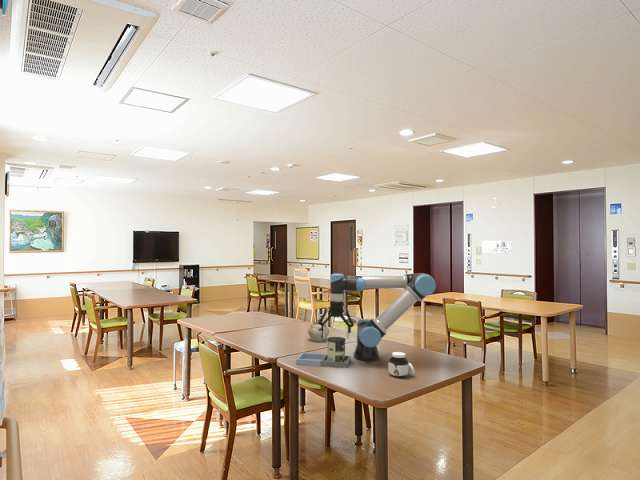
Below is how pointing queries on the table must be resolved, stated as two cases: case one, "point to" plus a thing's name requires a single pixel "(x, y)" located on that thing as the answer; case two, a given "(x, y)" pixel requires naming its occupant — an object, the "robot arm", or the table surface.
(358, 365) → the table surface
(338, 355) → the coffee can
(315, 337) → the sugar bowl
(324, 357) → the bay tray
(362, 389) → the table surface
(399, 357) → the spread jar
